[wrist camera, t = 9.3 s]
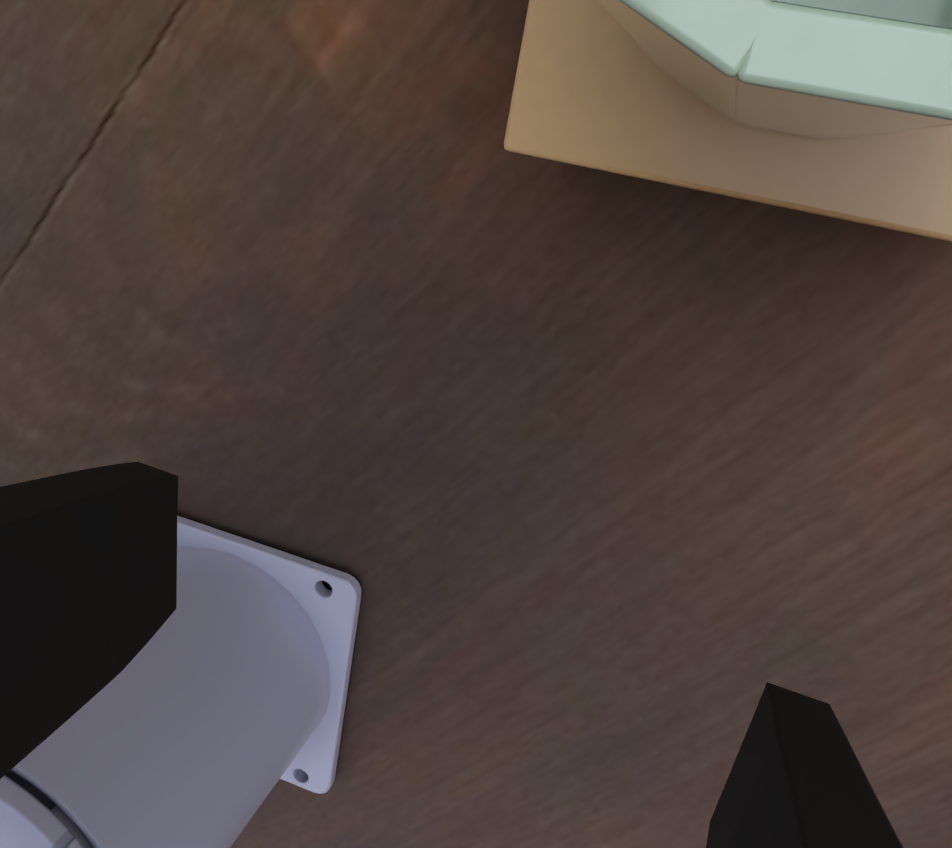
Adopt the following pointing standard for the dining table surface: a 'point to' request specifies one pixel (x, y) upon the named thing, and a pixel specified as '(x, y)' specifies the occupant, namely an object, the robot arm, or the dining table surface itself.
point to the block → (706, 132)
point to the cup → (805, 60)
